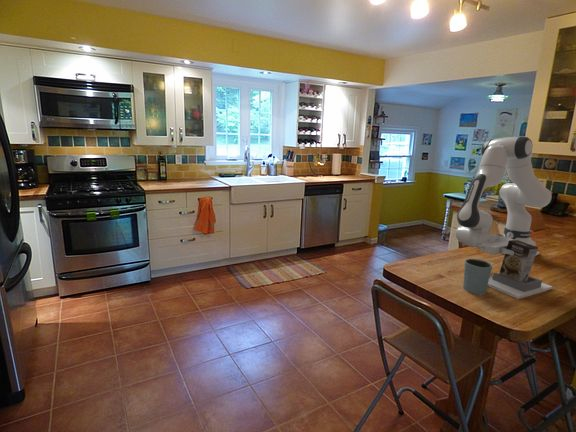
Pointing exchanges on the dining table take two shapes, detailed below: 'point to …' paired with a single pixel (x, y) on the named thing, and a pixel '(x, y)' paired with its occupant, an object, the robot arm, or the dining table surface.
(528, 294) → the white base plate
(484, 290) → the ceramic plant pot
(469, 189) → the robot arm
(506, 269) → the coffee box
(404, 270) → the dining table surface
